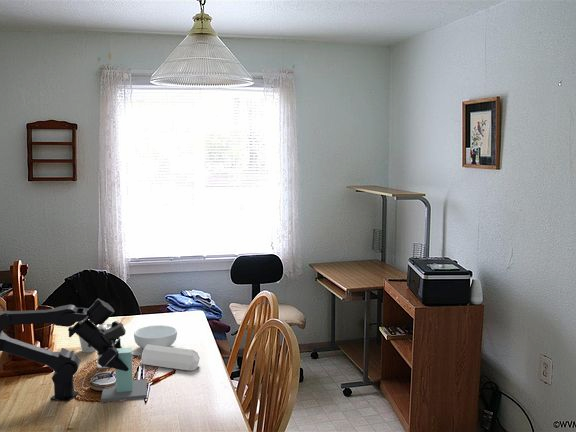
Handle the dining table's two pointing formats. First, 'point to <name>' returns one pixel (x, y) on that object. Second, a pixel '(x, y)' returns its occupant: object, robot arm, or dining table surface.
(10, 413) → the dining table surface
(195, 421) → the dining table surface
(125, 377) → the teal block
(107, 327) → the beer glass
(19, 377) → the dining table surface
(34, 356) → the robot arm
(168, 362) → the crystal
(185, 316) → the dining table surface
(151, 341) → the cereal bowl
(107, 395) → the rubber mat
